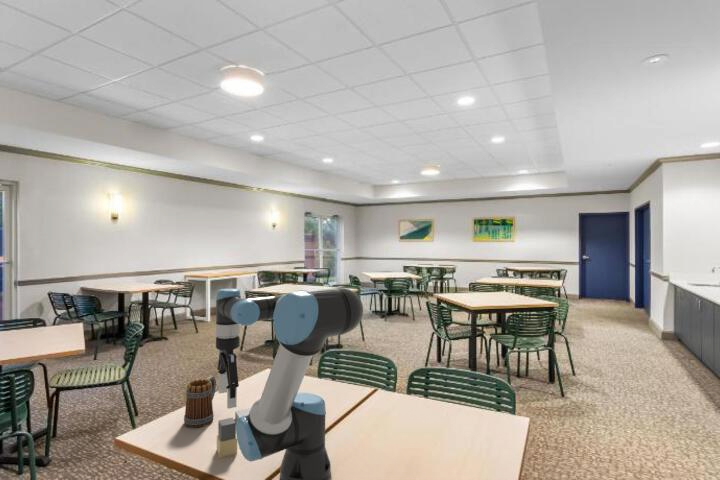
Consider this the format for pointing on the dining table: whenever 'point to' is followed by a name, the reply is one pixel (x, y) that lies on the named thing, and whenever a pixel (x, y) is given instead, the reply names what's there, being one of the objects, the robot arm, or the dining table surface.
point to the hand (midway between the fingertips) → (227, 399)
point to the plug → (226, 437)
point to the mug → (199, 402)
